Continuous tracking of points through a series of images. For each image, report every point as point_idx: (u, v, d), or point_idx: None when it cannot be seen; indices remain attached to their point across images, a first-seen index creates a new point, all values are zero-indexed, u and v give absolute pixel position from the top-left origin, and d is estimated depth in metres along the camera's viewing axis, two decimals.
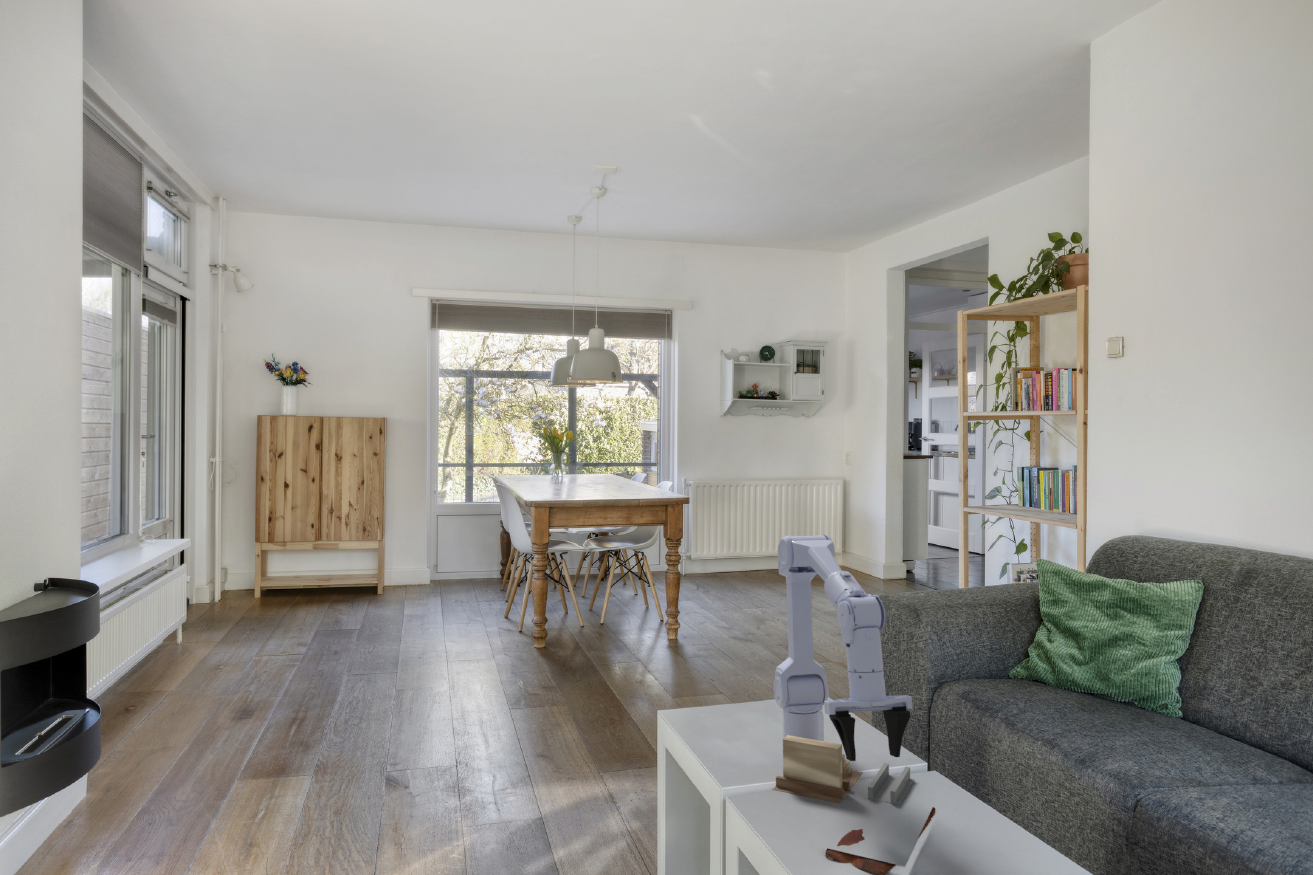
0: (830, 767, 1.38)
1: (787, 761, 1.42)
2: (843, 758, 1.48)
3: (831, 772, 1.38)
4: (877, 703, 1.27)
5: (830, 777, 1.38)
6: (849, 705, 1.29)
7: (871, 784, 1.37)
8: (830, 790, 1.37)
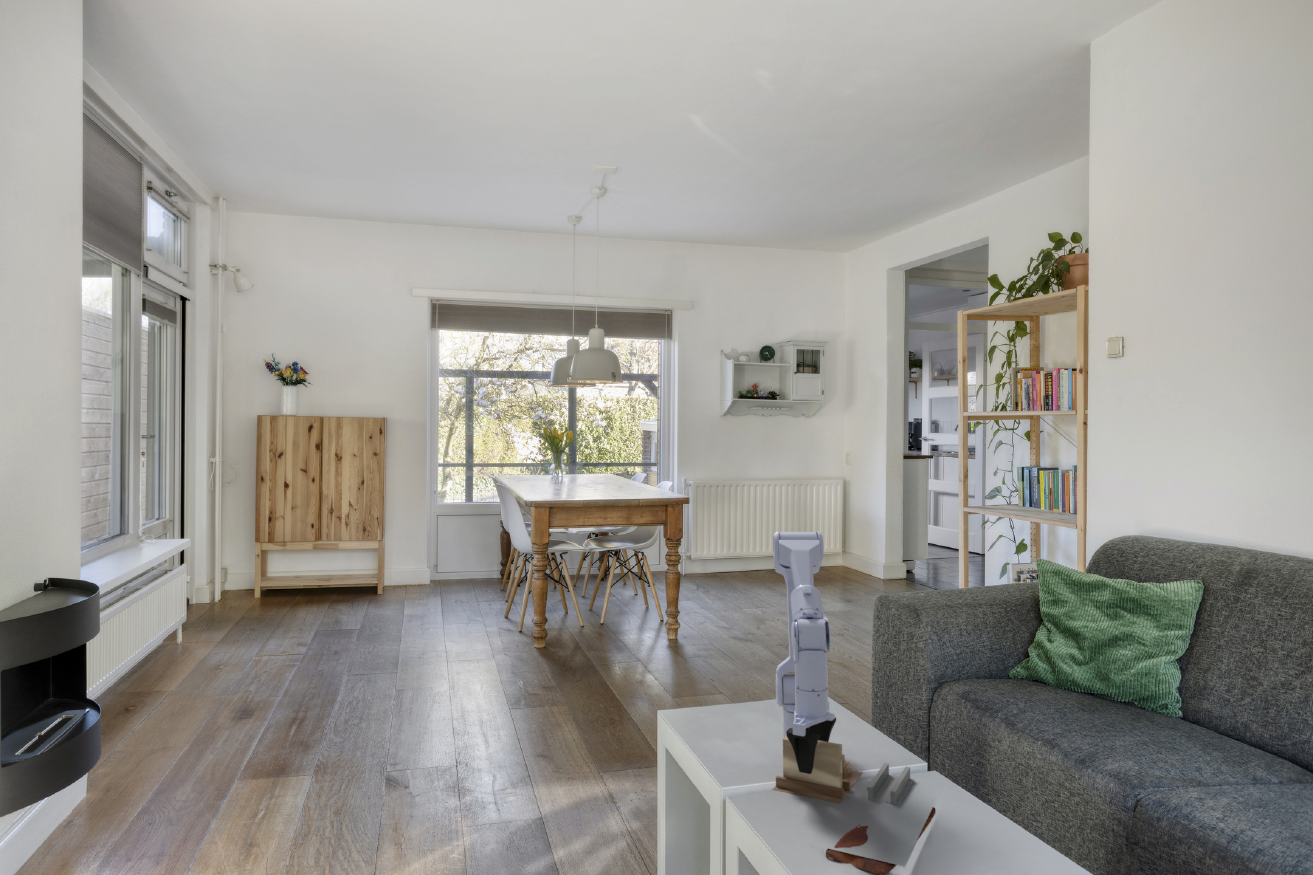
0: (830, 767, 1.38)
1: (787, 761, 1.42)
2: (843, 758, 1.48)
3: (831, 772, 1.38)
4: (833, 717, 1.39)
5: (830, 777, 1.38)
6: (814, 723, 1.37)
7: (871, 784, 1.37)
8: (830, 790, 1.37)
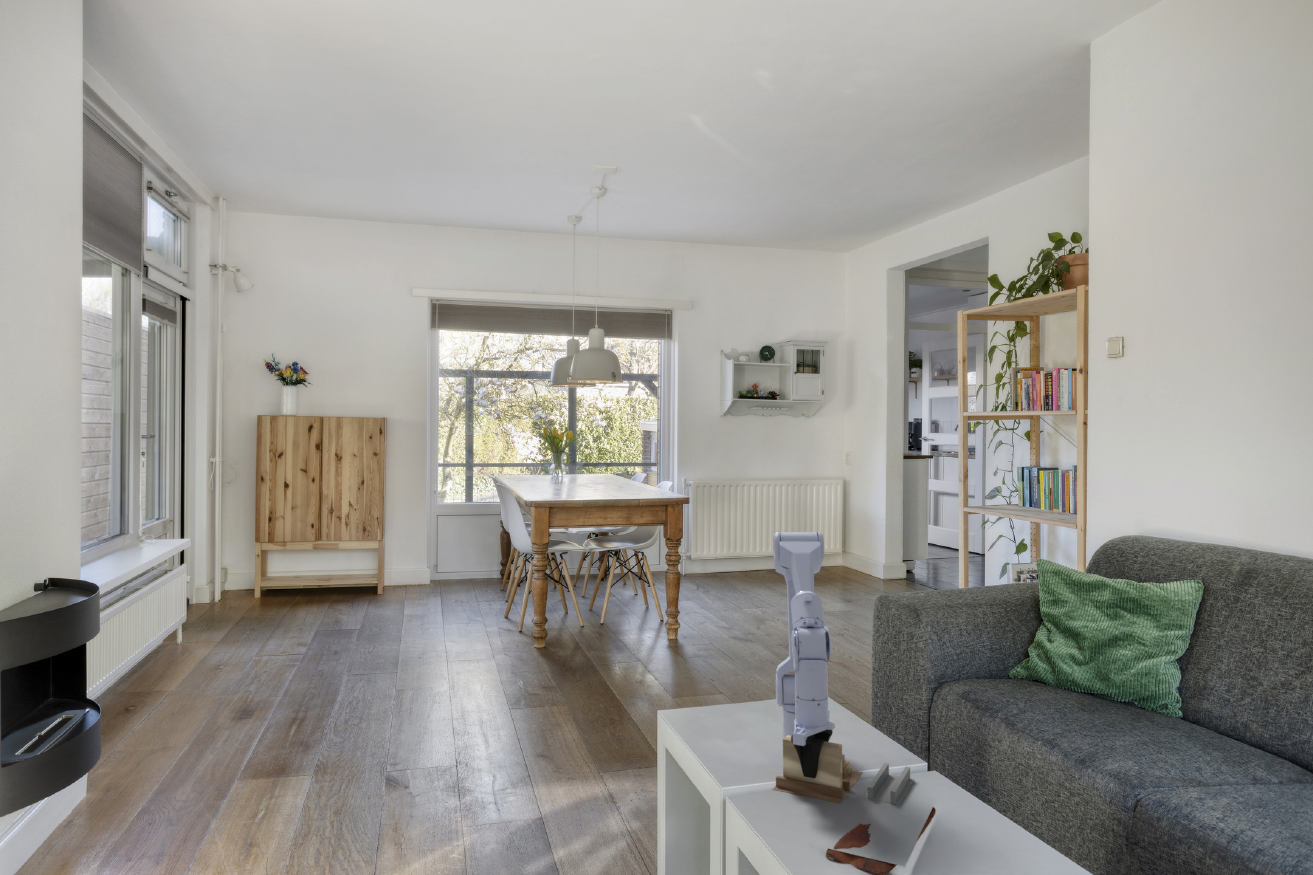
0: (830, 767, 1.38)
1: (787, 761, 1.42)
2: (843, 758, 1.48)
3: (831, 772, 1.38)
4: (833, 726, 1.39)
5: (830, 777, 1.38)
6: (814, 733, 1.37)
7: (871, 784, 1.37)
8: (830, 790, 1.37)
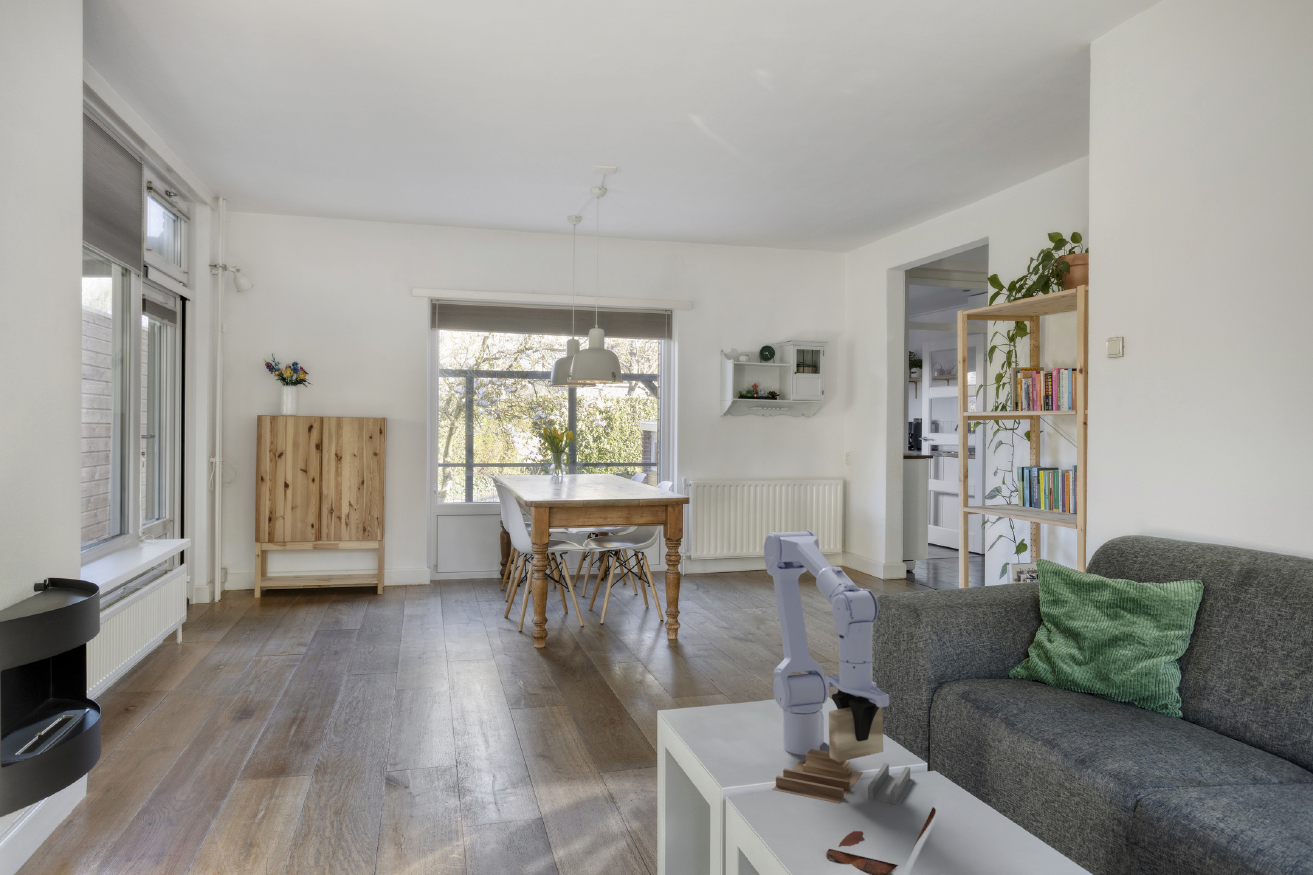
0: (876, 727, 1.42)
1: (841, 736, 1.38)
2: None
3: (877, 731, 1.42)
4: (874, 683, 1.43)
5: (876, 736, 1.41)
6: None
7: (871, 784, 1.37)
8: (830, 790, 1.37)
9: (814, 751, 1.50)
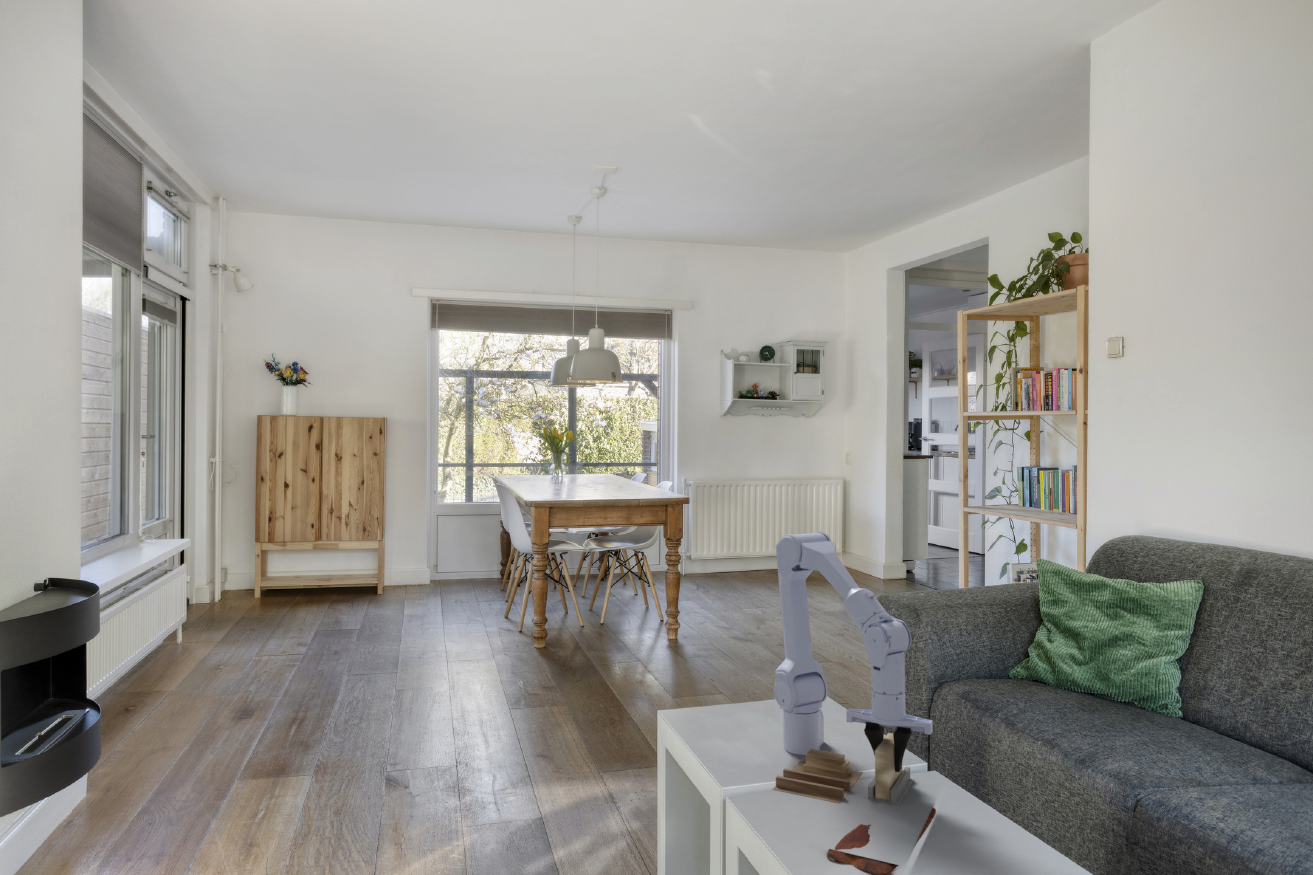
0: None
1: (890, 774, 1.36)
2: (843, 758, 1.48)
3: None
4: None
5: None
6: None
7: (871, 784, 1.37)
8: (830, 790, 1.37)
9: (814, 751, 1.50)
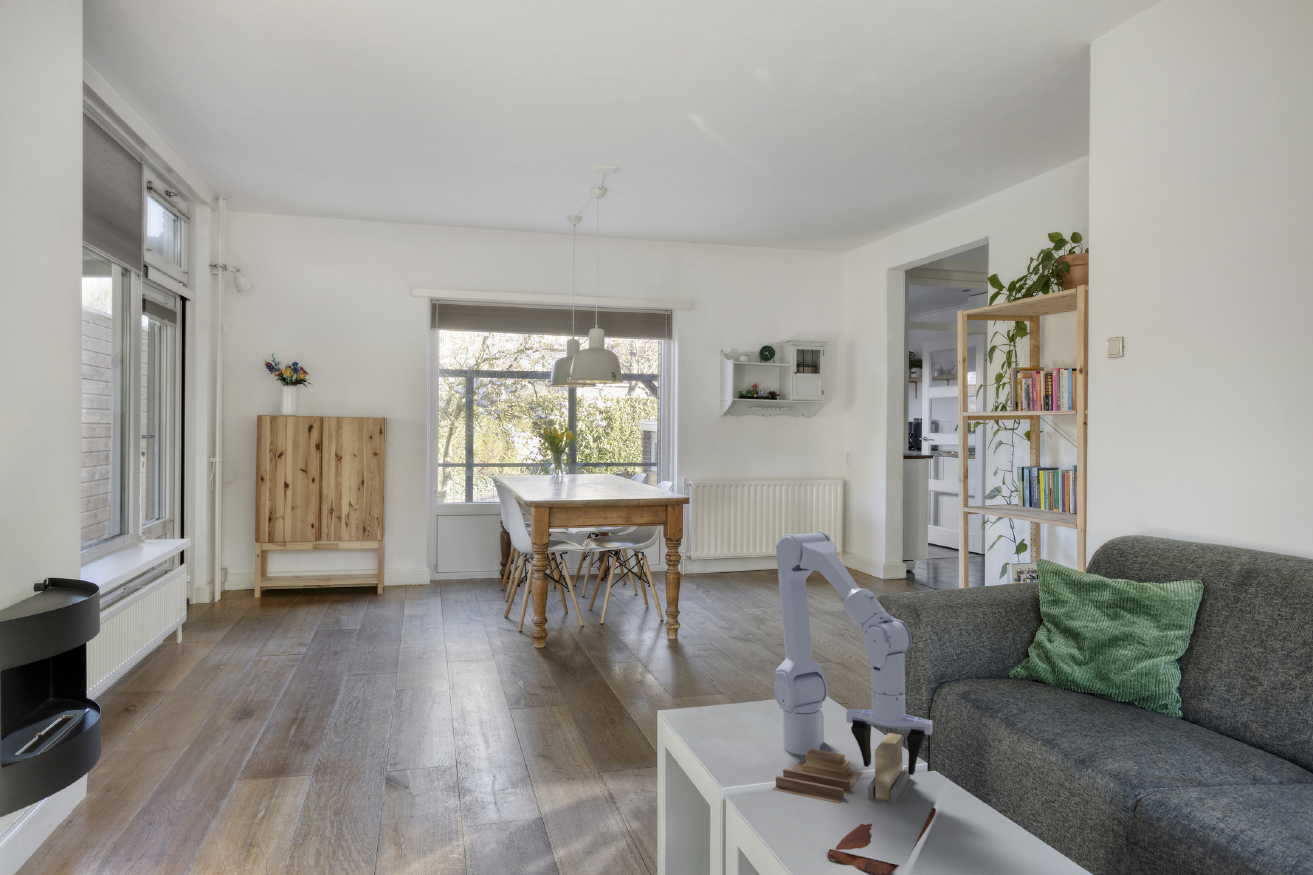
0: (900, 756, 1.43)
1: (890, 774, 1.36)
2: (843, 758, 1.48)
3: (900, 761, 1.43)
4: None
5: (900, 766, 1.43)
6: None
7: (871, 784, 1.37)
8: (830, 790, 1.37)
9: (814, 751, 1.50)
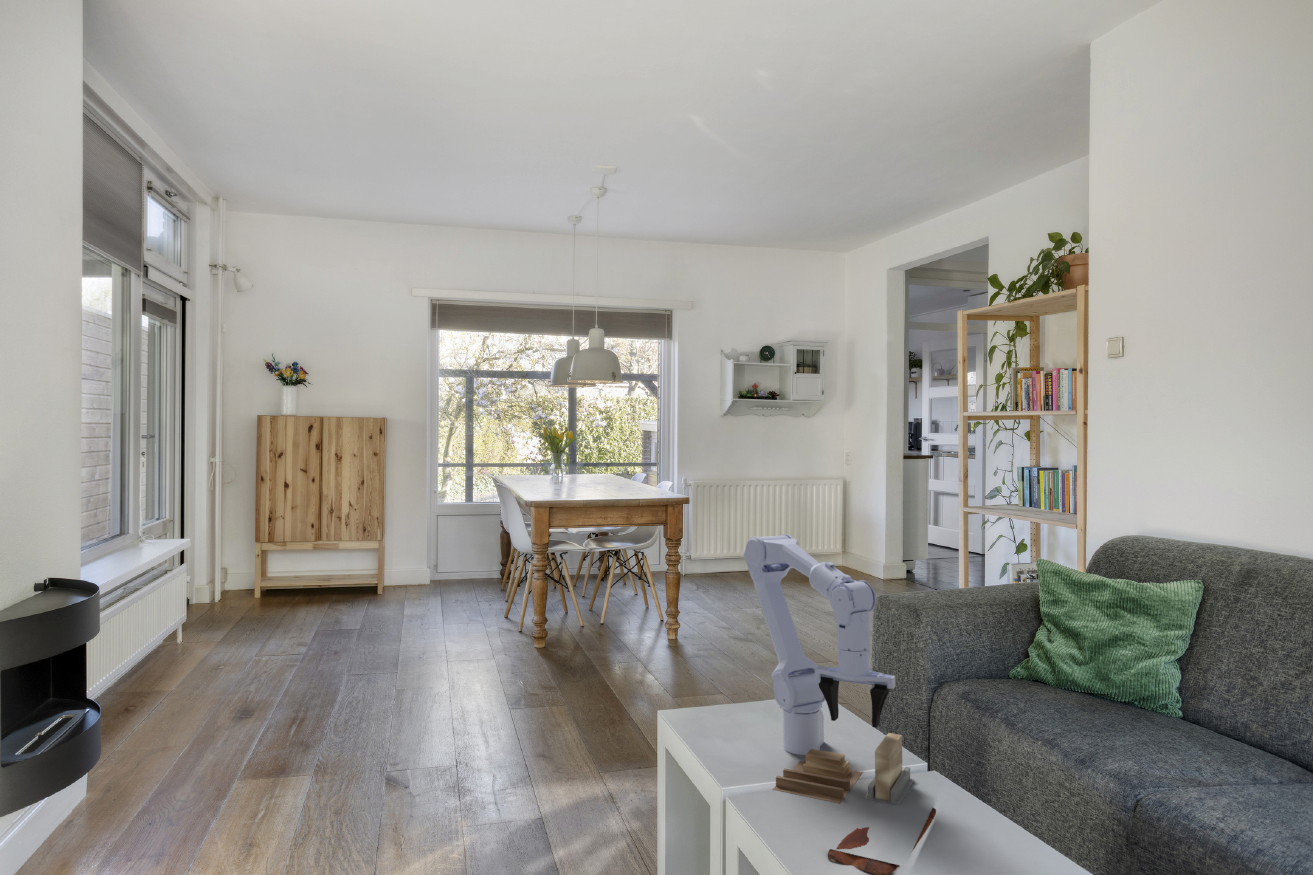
0: (900, 756, 1.43)
1: (890, 774, 1.36)
2: (843, 758, 1.48)
3: (900, 761, 1.43)
4: None
5: (900, 766, 1.43)
6: None
7: (871, 784, 1.37)
8: (830, 790, 1.37)
9: (814, 751, 1.50)
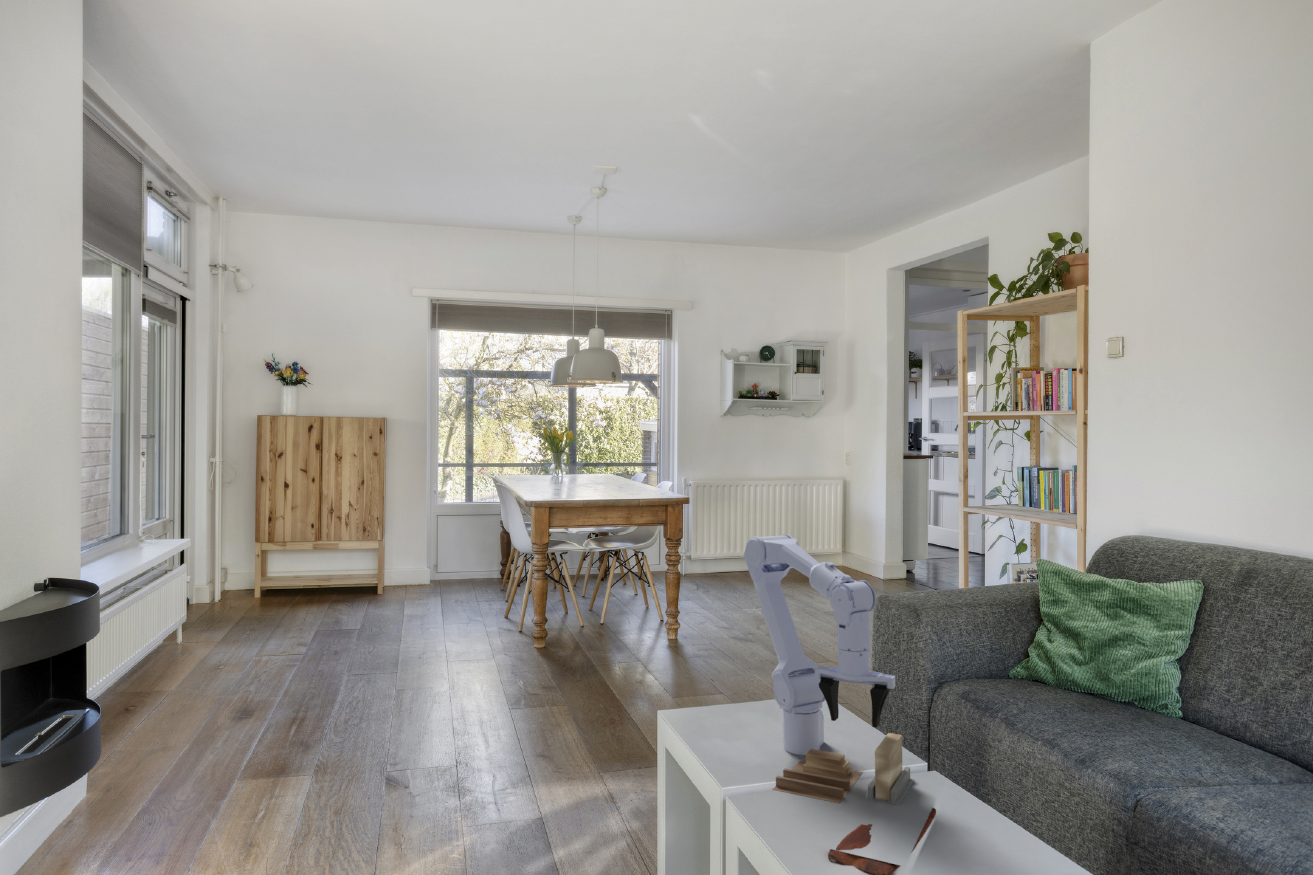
0: (900, 756, 1.43)
1: (890, 774, 1.36)
2: (843, 758, 1.48)
3: (900, 761, 1.43)
4: None
5: (900, 766, 1.43)
6: None
7: (871, 784, 1.37)
8: (830, 790, 1.37)
9: (814, 751, 1.50)
